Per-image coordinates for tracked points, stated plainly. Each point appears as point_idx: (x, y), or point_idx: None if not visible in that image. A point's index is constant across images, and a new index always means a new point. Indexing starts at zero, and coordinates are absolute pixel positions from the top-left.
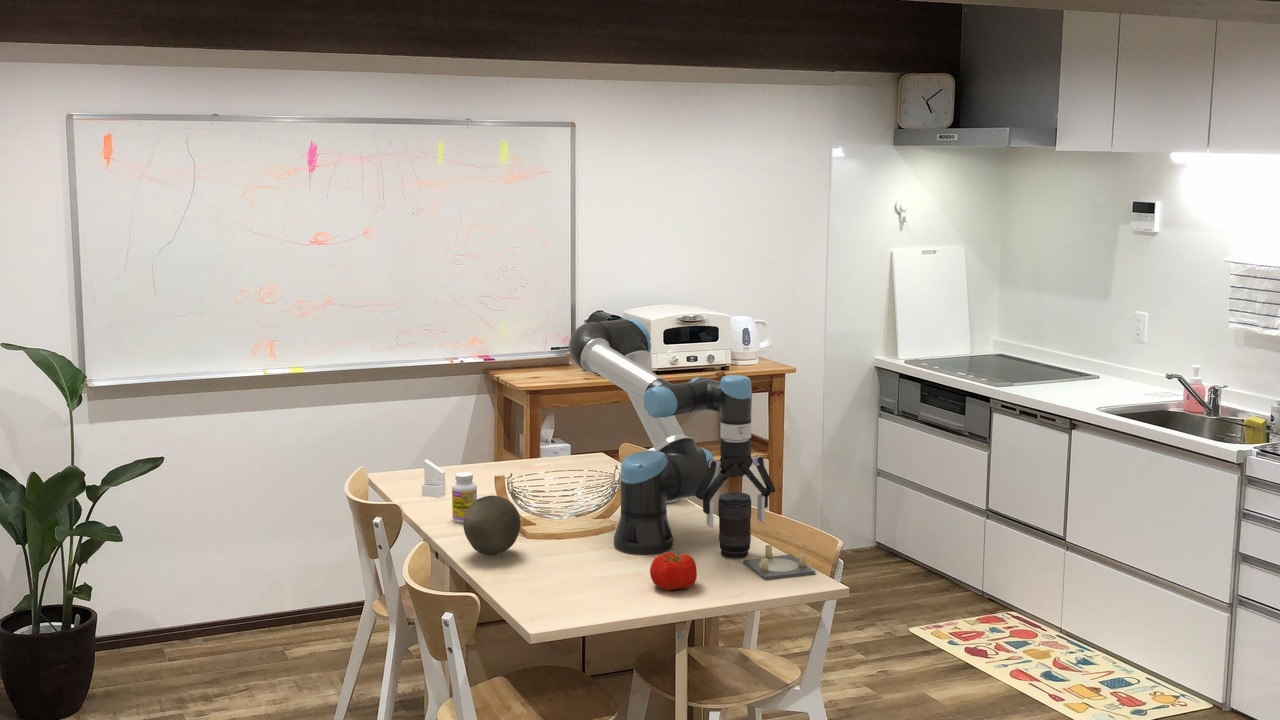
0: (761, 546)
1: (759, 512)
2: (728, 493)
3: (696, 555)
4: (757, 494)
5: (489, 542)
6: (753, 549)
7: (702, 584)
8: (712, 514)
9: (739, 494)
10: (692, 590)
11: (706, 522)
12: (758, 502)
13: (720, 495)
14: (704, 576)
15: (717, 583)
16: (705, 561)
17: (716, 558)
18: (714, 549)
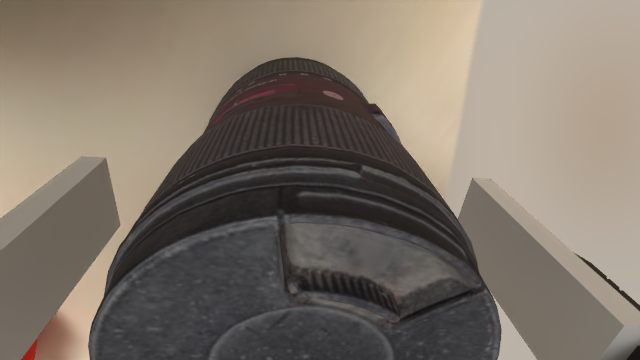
0: (460, 66)
1: (489, 242)
2: (306, 222)
3: (116, 62)
4: (619, 320)
5: None
6: (404, 90)
7: (78, 325)
8: (61, 293)
9: (447, 266)
10: (38, 350)
11: (71, 166)
12: (546, 277)
13: (122, 292)
14: (99, 278)
15: None
16: (140, 152)
17: (199, 135)
18: (235, 11)
